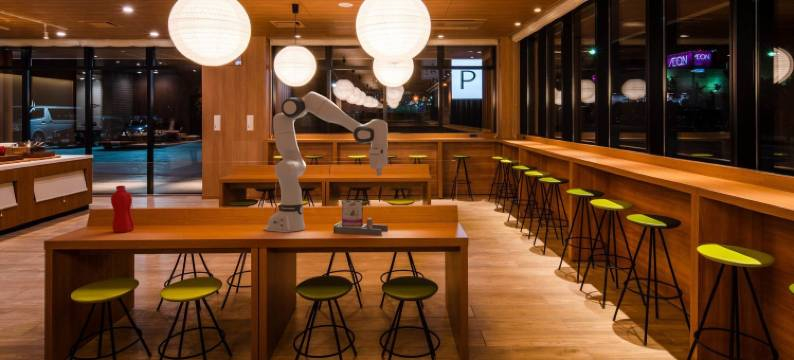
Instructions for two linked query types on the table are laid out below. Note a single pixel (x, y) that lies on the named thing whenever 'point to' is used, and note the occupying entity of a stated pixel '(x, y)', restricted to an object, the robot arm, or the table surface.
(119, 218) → the water bottle
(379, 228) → the bay
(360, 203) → the candy bar box
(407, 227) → the table surface
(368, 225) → the crate carriage
